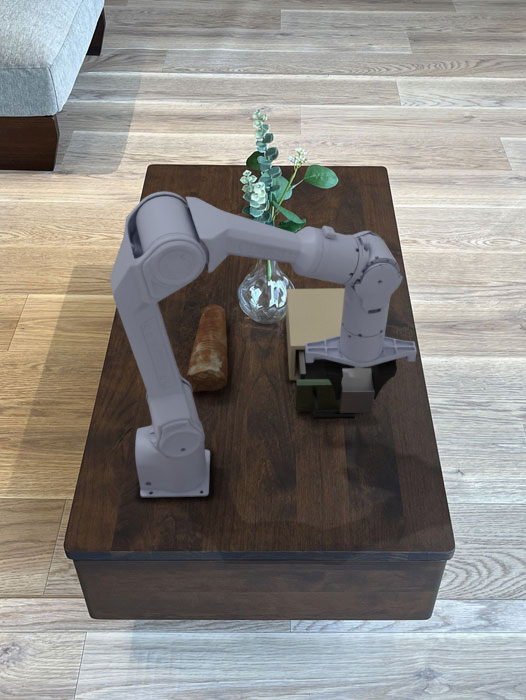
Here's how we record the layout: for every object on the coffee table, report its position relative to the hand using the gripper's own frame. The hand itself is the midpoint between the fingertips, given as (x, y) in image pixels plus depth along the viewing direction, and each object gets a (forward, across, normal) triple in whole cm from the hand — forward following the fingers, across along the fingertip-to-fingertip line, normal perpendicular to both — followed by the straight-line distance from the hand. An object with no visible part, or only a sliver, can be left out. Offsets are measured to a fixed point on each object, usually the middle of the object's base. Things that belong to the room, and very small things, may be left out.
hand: (355, 394), depth 111 cm
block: (+1, 0, 0) cm, 1 cm away
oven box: (+10, +3, -19) cm, 22 cm away
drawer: (+9, +3, -9) cm, 13 cm away
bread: (+10, +22, -18) cm, 30 cm away
